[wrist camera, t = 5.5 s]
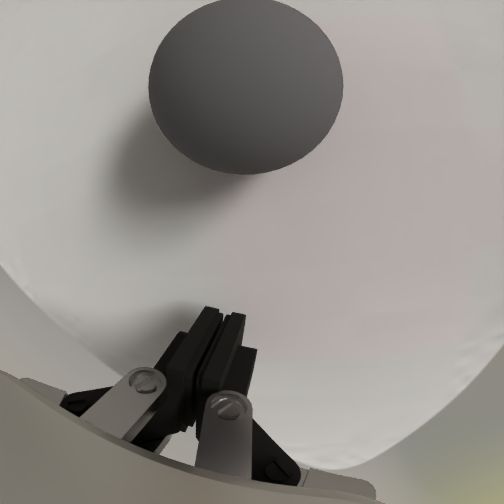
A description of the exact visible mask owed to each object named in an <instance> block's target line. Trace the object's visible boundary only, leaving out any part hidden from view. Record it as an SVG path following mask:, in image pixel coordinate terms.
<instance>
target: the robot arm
mask: <svg viewBox="0 0 504 504" xmlns="http://www.w3.org/2000/svg"><path fill="white" fill-rule="evenodd" d="M245 319H246V315H244V314H240V313H235V312H232V314H231V315H228V314H227V315H226V317H225V319H224V321H223V313H219V309H217V308H212V307H208V306H205V307H204V309H203V311H202V312H201V314H200V315H199V317H198V318H197V320H196V321H195V323H194V324H193V326H192V327H191V329H190V331H189V332H188V333H186V332H182V331H180V332H179V333H178V334H177V335H176V337H175V338H174V340H173V341H172V342H171V344H170V345H169V347H168V348H167V350H166V351H165V352H164V354H163V355H162V357H161V358H160V360H159V361H158V362H157V364H156V365H155V367H154V368H149V367H141V368H136V369H133V370H132V371H130V372H129V373H127V374H126V375H125V376H124V377H123V378H122V379H121V380H120V381H119V382H118V383H117V384H116V385H114V386H112V387H106V388H101V389H95V390H89V391H82V392H76V393H72V394H69V395H68V394H67V392H66V391H63V390H60V389H57V388H54V387H51V386H49V385H46V384H43V383H41V382H38V381H35V380H33V379H29V378H21V379H17V378H16V377H14V376H12V375H10V374H8V373H6V372H3V371H1V370H0V504H384V503H382V502H380V501H377V500H376V490H375V488H374V486H373V485H372V484H371V483H369V482H368V481H365V480H362V479H357V478H352V477H347V476H342V475H337V474H333V473H328V472H324V471H320V470H317V469H313V468H310V469H309V470H307V469H303V468H300V467H299V466H298V465H297V464H296V462H295V461H294V460H293V459H292V458H290V457H289V456H288V455H287V454H286V453H285V452H284V451H283V450H282V449H281V448H280V447H279V446H278V445H277V444H276V443H275V442H274V441H273V440H272V439H271V437H270V436H269V435H268V434H267V433H266V432H265V431H264V430H263V429H262V428H261V427H260V426H259V425H258V424H257V423H256V422H255V420H254V419H253V418H252V411H253V409H252V404H251V402H250V401H249V399H248V398H247V394H248V390H249V386H250V382H251V378H252V373H253V369H254V364H255V359H256V354H257V349H254V348H249V347H244V346H241V345H242V339H243V332H244V326H245ZM195 421H196V438H197V439H198V441H199V444H198V450H197V455H196V461H195V467H194V466H191V465H188V464H185V463H181V462H178V461H175V460H172V459H169V458H166V457H164V456H161V455H159V454H160V453H161V452H162V450H163V449H164V448H165V446H166V445H167V443H168V442H169V441H170V439H171V437H172V434H175V433H178V432H179V431H182V432H186V429H187V427H188V426H191V427H193V425H194V423H195Z"/></svg>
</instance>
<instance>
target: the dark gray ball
mask: <svg viewBox="0 0 504 504" xmlns="http://www.w3.org/2000/svg"><path fill="white" fill-rule="evenodd" d="M148 89H149V99H150V104H151V108H152V112H153V115H154V117H155V119H156V122H157V124H158V125H159V127H160V129H161V130H162V132H163V134H164V135H165V136H166V138H167V139H168V140H169V141H170V143H171V144H172V145H173V146H174V147H175V148H177V149H178V150H179V151H180V152H181V153H183V154H184V155H185V156H187V157H188V158H190V159H191V160H193V161H195V162H197V163H199V164H200V165H202V166H205V167H208V168H210V169H213V170H217V171H221V172H225V173H233V174H259V173H266V172H270V171H274V170H277V169H280V168H283V167H285V166H288V165H290V164H292V163H294V162H296V161H298V160H299V159H301V158H303V157H304V156H305V155H307V154H308V153H309V152H311V151H312V150H313V149H314V148H315V147H316V146H317V145H318V144H319V143H320V142H321V141H322V140H323V139H324V137H325V136H326V135H327V134H328V132H329V131H330V129H331V127H332V126H333V124H334V122H335V119H336V117H337V115H338V112H339V109H340V105H341V101H342V96H343V76H342V70H341V65H340V61H339V58H338V56H337V53H336V51H335V49H334V47H333V45H332V44H331V42H330V40H329V39H328V37H327V36H326V35H325V33H324V32H323V31H322V30H321V29H320V27H319V26H318V25H317V24H315V23H314V22H313V21H312V20H311V19H310V18H308V17H307V16H305V15H304V14H302V13H301V12H299V11H298V10H296V9H294V8H292V7H290V6H288V5H286V4H283V3H280V2H277V1H273V0H220V1H216V2H213V3H210V4H207V5H205V6H203V7H201V8H199V9H197V10H195V11H193V12H192V13H190V14H189V15H187V16H186V17H184V18H183V19H182V20H181V21H179V22H178V23H177V24H176V25H175V26H174V27H173V28H172V29H171V30H170V31H169V33H168V34H167V35H166V36H165V38H164V39H163V41H162V42H161V44H160V45H159V47H158V49H157V52H156V54H155V56H154V59H153V62H152V65H151V69H150V74H149V87H148Z"/></svg>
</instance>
